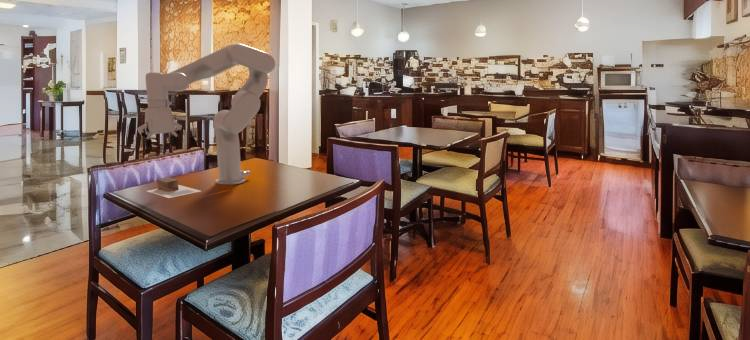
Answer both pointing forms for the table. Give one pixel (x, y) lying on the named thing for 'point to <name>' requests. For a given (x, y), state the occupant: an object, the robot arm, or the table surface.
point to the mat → (174, 192)
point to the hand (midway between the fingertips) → (161, 147)
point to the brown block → (167, 184)
